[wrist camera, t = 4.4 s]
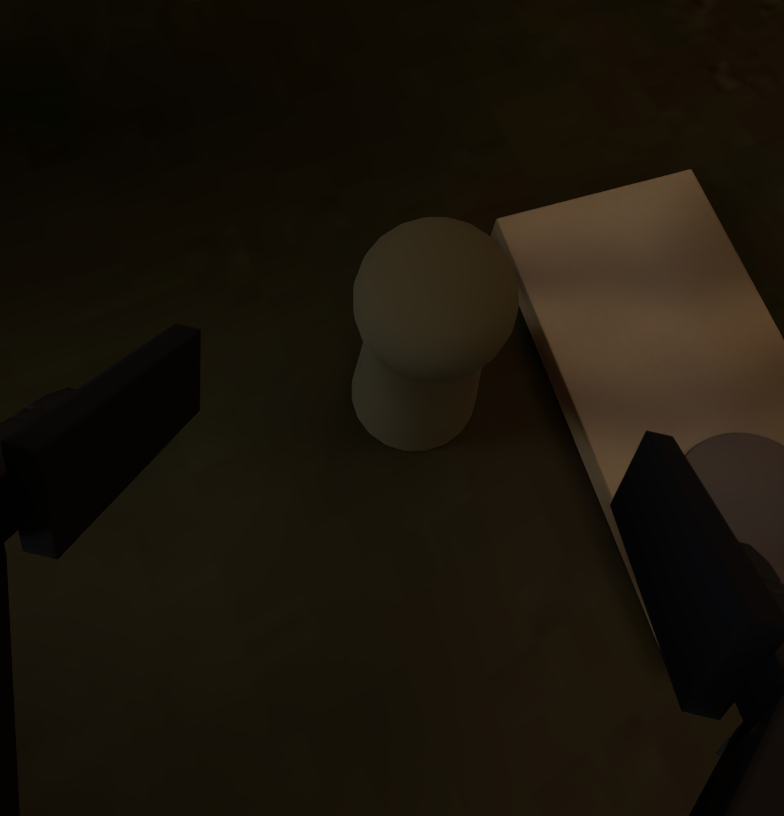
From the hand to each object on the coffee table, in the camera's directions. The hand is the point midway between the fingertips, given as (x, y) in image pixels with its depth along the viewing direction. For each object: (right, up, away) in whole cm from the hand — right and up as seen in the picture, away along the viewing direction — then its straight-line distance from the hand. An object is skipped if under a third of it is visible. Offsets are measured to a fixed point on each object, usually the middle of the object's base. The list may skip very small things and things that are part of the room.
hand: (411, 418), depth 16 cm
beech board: (+13, +1, +10) cm, 17 cm away
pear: (0, +1, +10) cm, 10 cm away
